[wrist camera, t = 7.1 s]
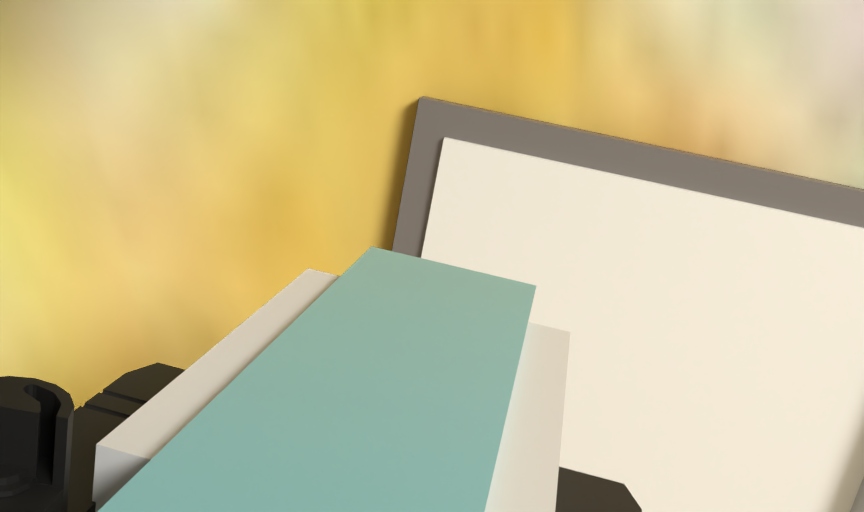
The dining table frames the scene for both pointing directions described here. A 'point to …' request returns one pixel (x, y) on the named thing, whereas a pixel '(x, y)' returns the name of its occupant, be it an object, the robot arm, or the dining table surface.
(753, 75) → the dining table surface
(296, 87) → the dining table surface
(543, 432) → the robot arm
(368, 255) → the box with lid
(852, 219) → the clipboard
